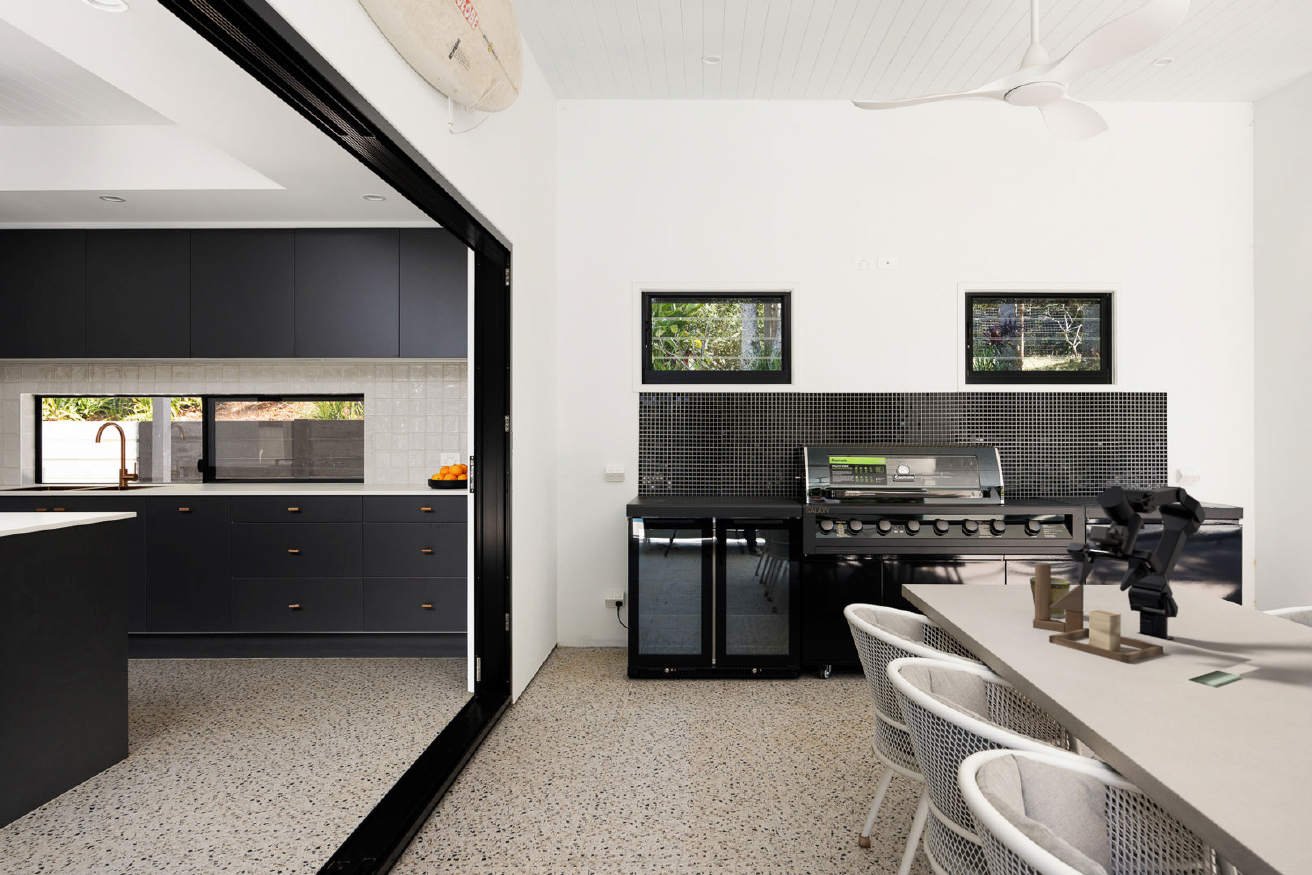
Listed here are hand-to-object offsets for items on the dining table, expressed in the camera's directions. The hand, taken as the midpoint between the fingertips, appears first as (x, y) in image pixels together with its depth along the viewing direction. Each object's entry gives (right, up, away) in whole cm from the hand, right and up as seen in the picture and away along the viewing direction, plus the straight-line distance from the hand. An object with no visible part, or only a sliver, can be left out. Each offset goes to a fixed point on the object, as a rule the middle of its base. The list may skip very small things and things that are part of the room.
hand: (1100, 586), depth 160 cm
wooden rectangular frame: (+1, -15, -1) cm, 15 cm away
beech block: (+1, -14, -1) cm, 14 cm away
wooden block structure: (-2, -16, +14) cm, 21 cm away
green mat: (+11, -15, -14) cm, 24 cm away
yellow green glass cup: (+8, -16, +36) cm, 40 cm away
